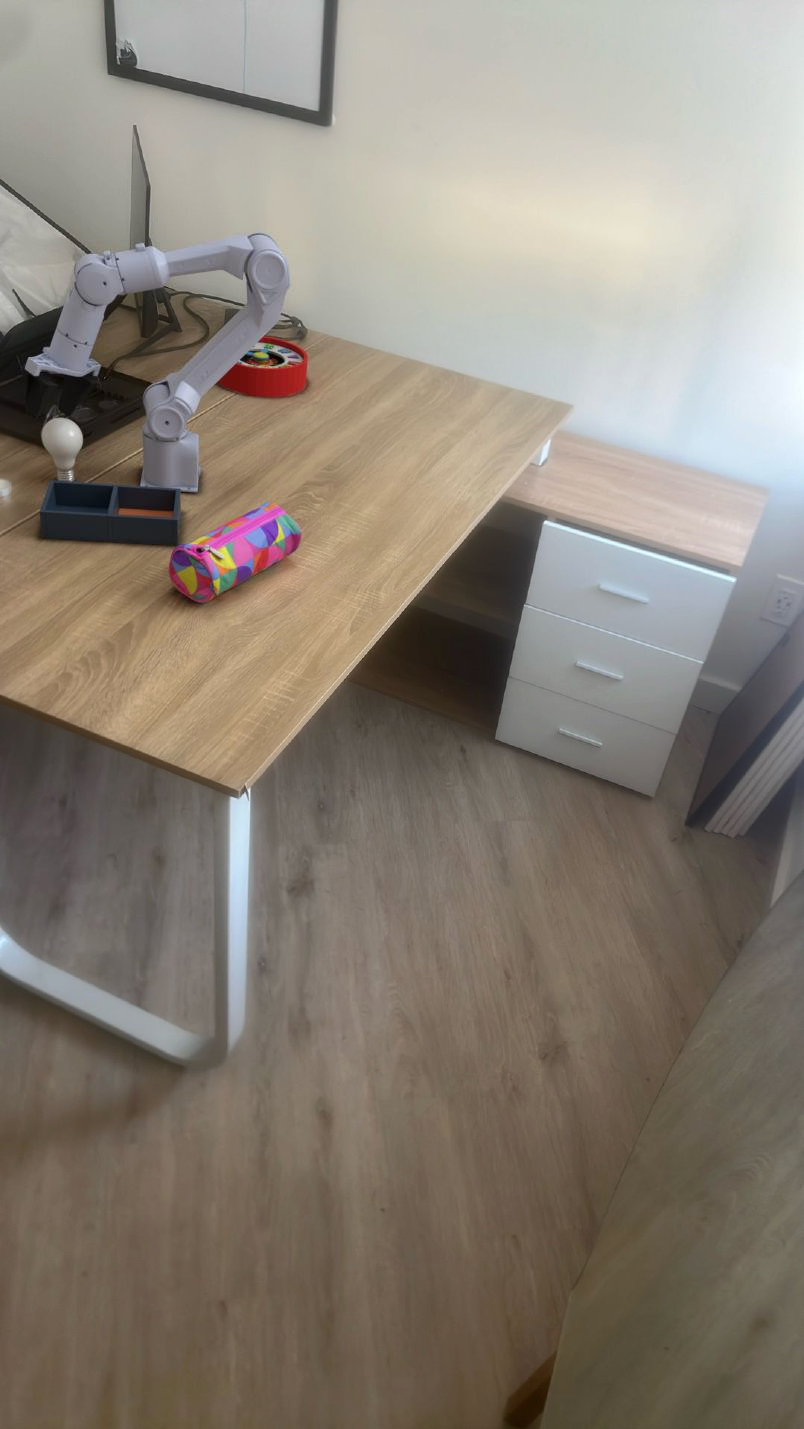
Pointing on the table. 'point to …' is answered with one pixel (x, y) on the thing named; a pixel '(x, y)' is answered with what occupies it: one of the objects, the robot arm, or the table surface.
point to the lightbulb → (62, 445)
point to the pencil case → (233, 552)
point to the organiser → (111, 513)
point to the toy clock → (268, 370)
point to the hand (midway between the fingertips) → (47, 413)
